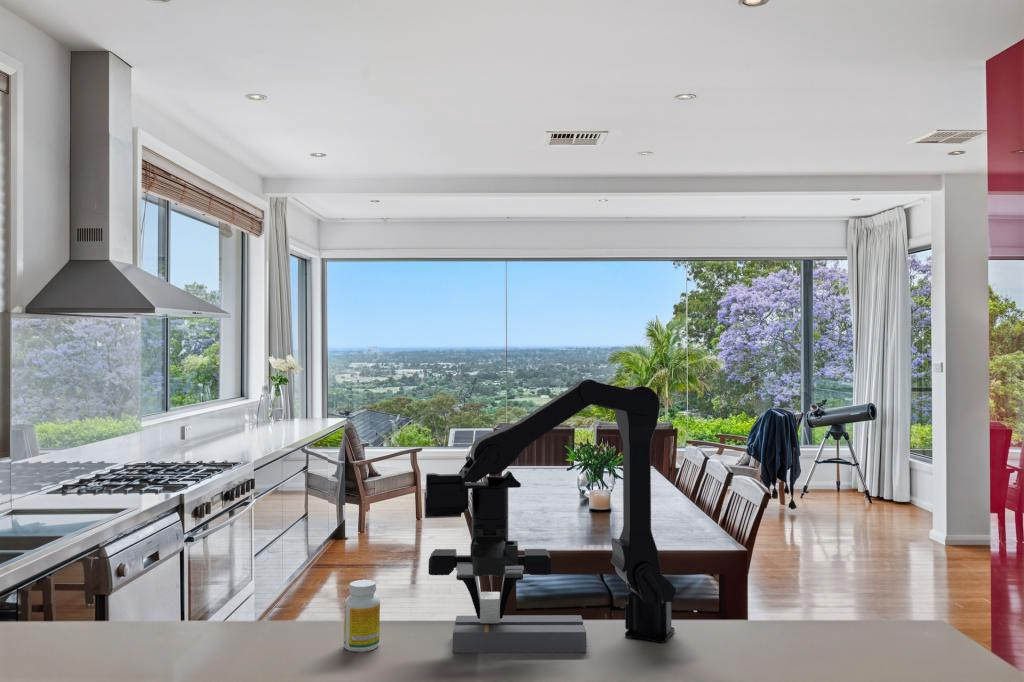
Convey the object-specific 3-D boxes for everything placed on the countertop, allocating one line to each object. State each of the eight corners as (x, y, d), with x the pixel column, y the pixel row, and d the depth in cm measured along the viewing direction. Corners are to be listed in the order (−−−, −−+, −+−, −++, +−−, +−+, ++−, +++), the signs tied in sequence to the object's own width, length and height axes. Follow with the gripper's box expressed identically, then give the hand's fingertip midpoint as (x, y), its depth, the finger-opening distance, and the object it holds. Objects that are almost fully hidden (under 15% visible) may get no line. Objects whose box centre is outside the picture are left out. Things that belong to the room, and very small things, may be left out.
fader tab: (499, 627, 118) (500, 591, 118) (499, 635, 114) (499, 599, 114) (480, 627, 117) (481, 591, 118) (480, 635, 114) (480, 599, 114)
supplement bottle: (336, 646, 114) (337, 583, 115) (365, 638, 118) (366, 576, 118) (357, 655, 110) (358, 589, 111) (386, 646, 114) (387, 582, 115)
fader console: (581, 634, 119) (581, 614, 120) (586, 652, 111) (586, 631, 112) (456, 634, 119) (456, 614, 120) (452, 652, 111) (452, 631, 112)
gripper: (424, 526, 108) (424, 635, 108) (552, 526, 108) (553, 635, 108) (432, 513, 120) (432, 612, 119) (548, 512, 120) (549, 611, 119)
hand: (490, 617), depth 116 cm, fingers closed on fader tab, 3 cm apart
